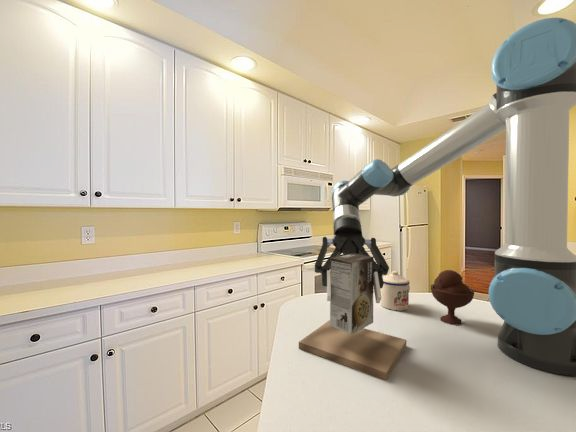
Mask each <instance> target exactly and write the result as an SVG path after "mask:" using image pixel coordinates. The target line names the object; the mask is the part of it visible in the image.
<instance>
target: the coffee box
mask: <svg viewBox="0 0 576 432" xmlns="http://www.w3.org/2000/svg"><path fill="white" fill-rule="evenodd" d="M373 260H374V257H373V256H371V255H370V256H366V255H361V254H354V253H351V254H341V255H340V256H337V257H333V258H330V282H331V300H330V301H329V302H330V303H329V320H330V326H332V327H334V328H337V329H339V330H342V331H344V332H346V333H349V334H354V333H356V332H358V331H359V330H361V329H363V328H364V329H366V327H368V326H369V325H371V324H374V286H373Z"/></svg>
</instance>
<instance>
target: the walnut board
mask: <svg viewBox="0 0 576 432" xmlns="http://www.w3.org/2000/svg"><path fill="white" fill-rule="evenodd" d="M406 348H407V339H406V338H401V337H397V336H394V335H390V334H385V333H382V332H379V331H375V330H371V329H367V328H363V329H361V330H359V331H358V332H356V333H354V334H349V333H346V332H344V331H342V330H339V329H337V328H334V327H332V326H330V319H329V320H327V321H326V322H325V323H324V324H322V325H320V326H319V327H318V328H317V329H315V330H313V331H312V332H310V333H309V334H308V335H306V336H304V338H302V339H300V340H299V341H298V349H300V350H303V351H306V352H307V353H311V354H313V355H316V356H319V357H322V358H324V359H326V360H329V361H332V362H335V363H338V364H340V365H343V366H345V367H346V366H347V367H348V368H352V369H354V370H357V371H360V372H363V373H365V374H368V375H370V376H373V377H376V378H379V379H382V380H384V381H387V380H388V378H389V377H390V375H391V373H392V371H393V369H394V368H395V366H396V365H397V363H398V361H399V359H400V358H401V356H402V355H403V352H404V351H405V349H406Z"/></svg>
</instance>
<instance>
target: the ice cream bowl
mask: <svg viewBox="0 0 576 432" xmlns="http://www.w3.org/2000/svg"><path fill="white" fill-rule="evenodd" d="M430 290H431V294H432V297H433V298H434V299H435V300H436V301H437V302H439V303H440V305H443V306H445V307H446V308H447V314H445V315H442V316H440V321H441V322H443V323H444V324H448V325H453V326H454V325H455V326H460V325H462V324H463V321H462V319H460V318H459V317H458V316H457V315H455V312H456V309H458V308H459V309H460V308H463V307H465V306H467V305H469V304H470V303H471V302H472V301H473V299H474V296H475V291H474V289H472V288H470V287H469V285H467V284H465V283H464V282H463V276H462V275H461V274H459V272H457V271H455V270H452V269H446V270H443V271H441V272H440V273H438V276H437V277H436V278H435V279H434V282H433V284H430Z"/></svg>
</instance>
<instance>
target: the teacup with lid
mask: <svg viewBox="0 0 576 432" xmlns="http://www.w3.org/2000/svg"><path fill="white" fill-rule="evenodd" d="M382 277H383V282H384V284H383V287H382V288H380V291H381V297H382V298H381V301H380V305H381V307H383V308H384V307H385V308H384V309H387V310H390V309H391V310H392V311H396V310H397V312H398V311H399V312H400V311H406V310H408V309H409V303H410V302H409V296H410V295H409V293H410V280H409V279H408V278H406V277H404V276H402V275H401V274H399V272H398V271H395V270H393V271H392V270H391V273H389V274H387V275H382ZM391 310H390V311H391Z"/></svg>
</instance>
